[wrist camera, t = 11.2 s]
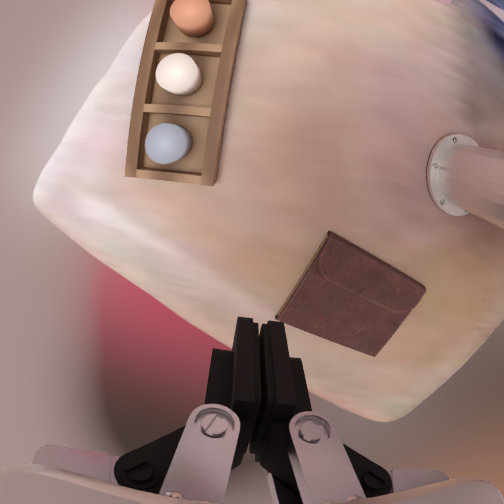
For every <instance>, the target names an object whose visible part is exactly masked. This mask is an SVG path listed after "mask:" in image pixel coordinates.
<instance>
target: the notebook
mask: <svg viewBox="0 0 504 504" xmlns="http://www.w3.org/2000/svg"><path fill="white" fill-rule="evenodd" d="M327 233H328V234H329V236H328V235H327V236H326V237H325V239H324V241H323V242H322V244H321V246H320V247H319V249H318V251H317V252H316V254H315V255H314V257H313V259H312V260H311V262H310V264H309V265H308V267H307V268H306V270H305V272H304V273H303V275H302V277H301V278H300V280H299V281H298V283H297V284H296V286H295V288H294V289H293V291H292V292H291V294H290V296H289V297H288V299H287V300H286V302H285V303H284V305H283V306H282V308H281V309H280V311H279V313H278V314H277V315H276V316H275V319H276V320H279V321H281V322H284V323H286V324H289V325H291V326H294V327H296V328H299V329H301V330H304V331H306V332H309V333H312V334H314V335H317V336H319V337H322V338H325V339H327V340H330V341H332V342H335V343H338V344H340V345H343V346H346V347H349V348H351V349H354V350H357V351H360V352H362V353H365V354H368V355H371V356H374V357H375V356H376V355H377V354H378V353H379V351H380V350H381V349H382V348H383V346H384V345H385V344H386V343H387V342H388V340H389V339H390V338H391V337H392V335H393V334H394V333H395V332H396V330H397V329H398V328H399V326H400V325H401V324H402V322H403V321H404V320H405V318H406V317H407V316H408V314H409V313H410V312H411V310H412V309H413V308H414V307H415V306H416V305H417V304H418V302H419V301H420V300H421V298H422V297H423V295H424V294H425V292H426V288H425V286H423V285H422V284H420V283H418V282H417V281H415V280H413V279H412V278H410V277H408V276H407V275H405V274H403V273H402V272H400V271H398V270H397V269H395V268H393V267H391V266H390V265H388V264H386V263H385V262H383V261H381V260H379V259H378V258H376V257H374V256H372V255H371V254H369V253H367V252H365V251H364V250H362V249H360V248H358V247H357V246H355V245H353V244H351V243H349V242H348V241H346V240H344V239H342V238H340V237H339V236H337V235H335V234H333V233H331V232H329V231H328V232H327Z"/></svg>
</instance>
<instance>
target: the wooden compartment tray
mask: <svg viewBox="0 0 504 504" xmlns="http://www.w3.org/2000/svg"><path fill="white" fill-rule="evenodd" d="M174 1H175V0H155V4H154V7H153V11H152V15H151V18H150V22H149V26H148V30H147V34H146V38H145V43H144V47H143V51H142V56H141V61H140V66H139V71H138V76H137V82H136V88H135V94H134V100H133V106H132V113H131V121H130V129H129V137H128V146H127V157H126V168H125V177H136V178H147V179H157V180H166V181H175V182H184V183H192V184H200V185H208V186H213V185H214V184H215V183H216V176H217V169H218V162H219V155H220V148H221V141H222V135H223V128H224V122H225V116H226V110H227V104H228V98H229V92H230V86H231V81H232V75H233V69H234V64H235V59H236V53H237V48H238V43H239V38H240V33H241V28H242V23H243V18H244V13H245V9H246V4H247V0H208V1H209V4H210V7H211V10H212V13H213V17H214V23H213V26H212V28H211V29H210V30H209V31H208V32H207V33H205V34H203V35H201V36H196V37H190V36H187V35H184V34H183V33H182V32H181V31H180V30H179V28H178V27H177V25H176V24H175V22H174V21H173V19H172V18H171V16H170V8H171V5H172V4H173V2H174ZM174 53H183V54H186V55H188V56H190V57H191V58H192V59H193V61H194V62H195V63H196V65H197V66H198V67H199V69H200V70H201V73H202V83H201V85H200V87H199V88H198V89H197V90H196V91H195V92H194V93H192V94H190V95H187V96H177V95H175V94H173V93H171V92H169V91H167V90H166V89H164V88H162V87H161V86H160V85H159V84H158V82H157V80H156V69H157V66H158V64H159V63H160V62H161V60H162V59H164V58H165V57H166V56H168V55H171V54H174ZM163 123H168V124H175V125H180V126H183V127H184V128H186V129H187V130H188V131H189V133H190V134H191V137H192V147H191V150H190V151H189V153H188V154H187V155H186V156H185V157H184V158H182V159H180V160H177V161H174V162H171V163H168V164H160V163H157V162H155V161H153V160H152V159H151V158H150V157H149V156H148V154H147V152H146V149H145V140H146V137H147V134H148V133H149V131H150V130H151V129H152V128H153V127H155V126H157V125H159V124H163Z"/></svg>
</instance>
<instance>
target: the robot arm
mask: <svg viewBox="0 0 504 504" xmlns="http://www.w3.org/2000/svg"><path fill="white" fill-rule="evenodd" d="M427 183H428V188H429V192H430V194H431V197H432V199H433V201H434V203H435V204H436V205H437V206H438V207H439V208H440V209H441V210H442V211H443V212H445V213H447V214H449V215H452V216H463V215H466V214H468V213H471V214H474V215H476V216H478V217H480V218H482V219H484V220H486V221H488V222H490V223H492V224H494V225H496V226H498V227H500V228H502V229H504V151H501V150H495V149H490V148H484V147H480V146H479V145H478V144H477V143H476V141H475V140H474V139H472V138H471V137H469V136H467V135H464V134H450V135H447V136H445V137H443V138H442V139H441V140H440V141H439V142H438V143H437V144H436V145H435V147H434V148H433V150H432V152H431V155H430V157H429V162H428V167H427ZM248 444H250V453H251V454H255V462H260V465H261V466H262V467H263V468H265V469H266V470H267V478H268V482H269V486H270V491H271V495H272V499H273V503H274V504H504V498H503V496H502V495H501V493H500V492H499V490H498V489H497V488H496V487H495V486H494V485H493V484H492V483H491V482H489V481H486V480H482V479H476V478H457V479H451V480H449V478H448V476H447V475H446V474H445V472H443V471H441V470H438V469H414V470H413V469H410V470H409V469H392V470H391V471H386V470H385V469H383V468H382V467H381V466H379V465H377V464H376V463H374V462H372V461H370V460H369V459H367V458H366V457H364V456H362V455H361V454H359V453H357V452H356V451H354V450H352V449H351V448H349V447H348V446H346V445H345V444H343V443H342V442H341V439H340V437H339V434H338V432H337V430H336V428H335V425H334V424H333V423H332V421H331V420H330V419H329V418H328V417H326V416H325V415H323V414H321V413H317V412H313V411H312V409H311V404H310V399H309V394H308V389H307V384H306V379H305V374H304V370H303V365H302V361H301V359H300V358H292V357H289V351H288V345H287V339H286V333H285V327H284V323H283V322H277V321H268V323H267V324H262V326H261V330H260V335H259V329H258V323H253V318H245V317H238V319H237V324H236V330H235V336H234V342H233V348H232V351H227V350H220V349H214V348H213V351H212V358H211V364H210V371H209V377H208V384H207V392H206V398H205V405H202V406H199V407H198V408H196V409H195V410H193V412H192V413H191V415H190V417H189V419H188V422H187V424H186V426H184V427H182V428H180V429H178V430H176V431H174V432H172V433H170V434H168V435H166V436H164V437H161V438H159V439H157V440H155V441H153V442H151V443H149V444H146V445H144V446H142V447H140V448H138V449H135V450H133V451H131V452H129V453H126V454H124V455H123V456H121V457H119V456H110V454H109V453H103V452H95V451H86V450H79V449H73V448H67V447H62V446H56V445H45V446H43V447H40V448H39V449H38V450H37V451H36V453H35V456H34V459H33V464H13V465H8V466H5V467H3V468H2V469H0V504H222V503H223V499H224V495H225V490H226V487H227V483H228V478H229V474H230V471H231V470H232V469H234V468H235V467H237V466H238V465H239V464H241V461H242V458H243V455H244V453H246V450H247V447H248Z"/></svg>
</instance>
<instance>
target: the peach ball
mask: <svg viewBox="0 0 504 504" xmlns="http://www.w3.org/2000/svg"><path fill="white" fill-rule="evenodd" d="M170 16H171V18H172V19H173V21H174V22H175V24H176V25H177V27H178V28H179V30H180V31H181V32H182V33H183V34H184V35H187V36H190V37H196V36H201V35H203V34H205V33H207V32H208V31H209V30H210V29H211V28H212V26H213V23H214V17H213V13H212V10H211V7H210V4H209V1H208V0H175V1H174V2H173V4H172V5H171V8H170Z"/></svg>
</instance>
